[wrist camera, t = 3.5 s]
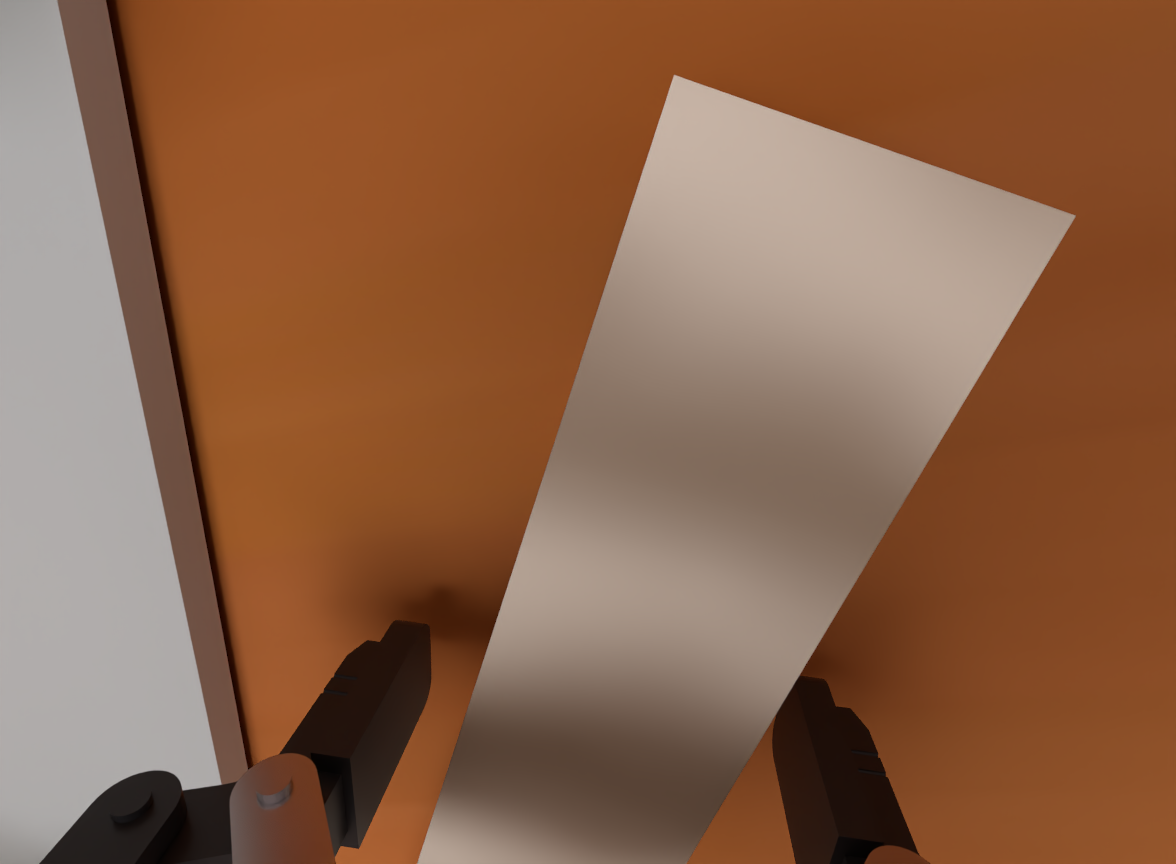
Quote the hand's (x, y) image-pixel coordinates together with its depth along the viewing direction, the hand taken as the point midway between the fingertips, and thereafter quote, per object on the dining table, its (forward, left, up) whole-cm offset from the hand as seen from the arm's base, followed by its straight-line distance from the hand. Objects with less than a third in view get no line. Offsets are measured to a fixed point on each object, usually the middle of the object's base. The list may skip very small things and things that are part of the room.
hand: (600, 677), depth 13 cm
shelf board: (0, 0, -2) cm, 2 cm away
